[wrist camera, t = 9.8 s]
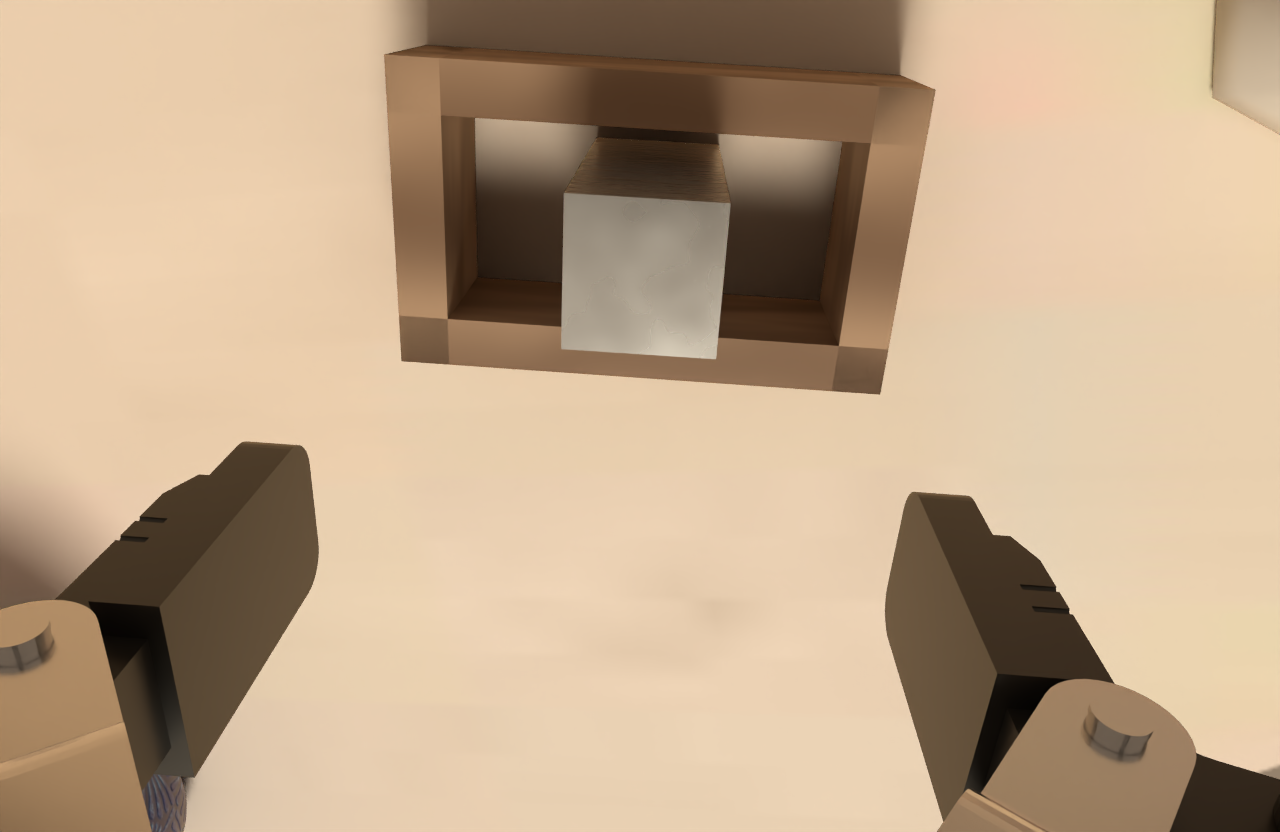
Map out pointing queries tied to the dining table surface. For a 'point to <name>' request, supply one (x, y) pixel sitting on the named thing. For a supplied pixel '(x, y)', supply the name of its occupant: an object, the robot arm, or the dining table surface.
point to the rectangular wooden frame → (665, 100)
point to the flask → (1248, 59)
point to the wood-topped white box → (645, 249)
